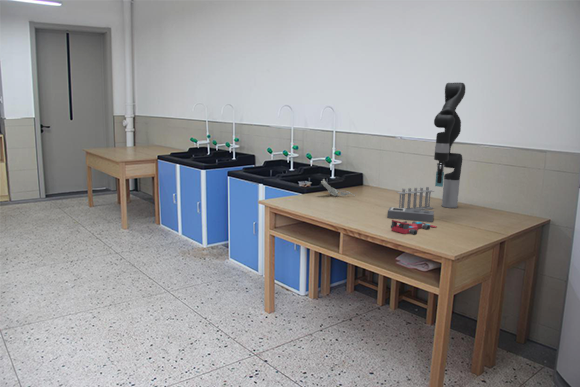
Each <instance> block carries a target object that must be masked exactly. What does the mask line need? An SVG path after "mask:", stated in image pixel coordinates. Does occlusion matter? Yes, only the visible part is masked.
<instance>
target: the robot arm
mask: <svg viewBox="0 0 580 387" xmlns="http://www.w3.org/2000/svg"><path fill="white" fill-rule="evenodd" d="M465 94H466V85H465V83H464V82H447V83H446V84H445V87H444V104H443V106H442V109H441V110H440V111H439V112H438V113H437V114H436V116H435V117H434V120H433V125H434V126H435V127H436V128H439V129H441V128H442V129H444V131H440V132H437V134H436V139H435V146H434V155H433V157H434V158H433V159H434V160H435V161H438V162H437V163H436V167H437V168H436V171H437V172H438V174H437V176H438V178H437V183H441V181H442V172H445V171H444V170H445V168H447V169H453V171H450V172H448V173H444V178H443V187H442V188H443V189H442V199H441V207H444V208H448V209H456V208H458V202H459V194H460V192H459V191H460V182H461V173H462V167H463V165H462V164H463V155H462V154H461V153H457V152H451V149H452V146H453V144H454V142H455V141H456V139H458V137H459V136H460V134H461V131H462V130H461V128H462V127H461V126H462V121H461V118H460V116H459V114H458V113H457V107H458V106H459V105H460V104H461V102H462V100H463V99H464V97H465ZM439 172H441V173H439Z"/></svg>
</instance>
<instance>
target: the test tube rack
mask: <svg viewBox="0 0 580 387" xmlns="http://www.w3.org/2000/svg"><path fill="white" fill-rule="evenodd" d="M434 192H435V190H433V189H432V190H431V189H430V187H429V186H426V187H425V189H424V187H422V186H420V188H419V190H418V187H414V190H412V188H410V187H409V188H407V191H406V188H402V190H401V191H396V193H397V194H398V195H399V198H398V199H399V202H398V204H399V205H398V208H405V209H416V210H433V209H434V207H433V206H430V204H431V195H432V194H431V193H434ZM423 193H424V194H425V197H424V206H423V196H424V195H423ZM412 194H413V201H412V202H413V203H412V204H413V205H412V207H411V200H412ZM418 194H419V197H418ZM406 195H407V204H406V205H407V206H406V207H405V200H406ZM417 198H419V201H418V200H417ZM417 201H418V206H417Z"/></svg>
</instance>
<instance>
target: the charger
mask: <svg viewBox="0 0 580 387" xmlns="http://www.w3.org/2000/svg"><path fill="white" fill-rule="evenodd" d="M439 173H441V172H439ZM437 174H438V172H437V170H436V172H435V183H434V184H435V186H434V187H441V188H443V185H444V175H445V171H443V172H442V181H441V183H437V178H438V176H437Z"/></svg>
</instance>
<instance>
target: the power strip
mask: <svg viewBox="0 0 580 387" xmlns="http://www.w3.org/2000/svg"><path fill="white" fill-rule="evenodd" d="M405 208H406V207H404V208H401V207H400V208H399V207H395V206H394V207H392V206H390V207H389V208H388V209H387V213H386V215H387V219H393V220H405V221H415V222H426V223H433V222H434V221H433V220H434V215H435V213H434V212H435V211H434V210H428V209H424V210H416V209H405Z"/></svg>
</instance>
